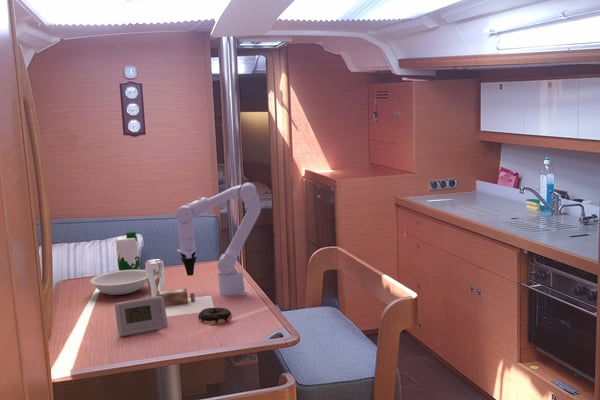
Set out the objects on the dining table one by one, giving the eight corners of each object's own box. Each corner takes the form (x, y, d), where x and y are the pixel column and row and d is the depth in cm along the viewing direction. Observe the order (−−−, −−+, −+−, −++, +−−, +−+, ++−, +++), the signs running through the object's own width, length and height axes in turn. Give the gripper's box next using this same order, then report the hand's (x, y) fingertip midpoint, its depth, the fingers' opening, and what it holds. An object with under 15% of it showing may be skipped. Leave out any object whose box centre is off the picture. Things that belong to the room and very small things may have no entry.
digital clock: (116, 338, 221) (113, 306, 219) (119, 329, 230) (115, 299, 228) (167, 332, 224) (164, 301, 222) (168, 324, 233) (165, 293, 231)
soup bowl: (149, 281, 291) (148, 266, 290) (156, 295, 268) (154, 279, 267) (90, 290, 284) (89, 274, 283) (92, 305, 261) (90, 288, 260)
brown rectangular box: (187, 300, 256) (186, 288, 255) (188, 303, 251) (186, 291, 250) (157, 303, 254) (156, 291, 253) (157, 307, 249) (156, 295, 248)
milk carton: (139, 279, 296) (135, 234, 293) (118, 281, 295) (113, 235, 292) (142, 274, 304) (137, 230, 302) (121, 276, 304) (116, 232, 301)
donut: (204, 329, 225) (203, 317, 224) (194, 320, 235) (193, 308, 235) (236, 322, 229) (235, 311, 229) (225, 313, 240) (224, 302, 239)
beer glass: (162, 302, 259) (158, 263, 257) (145, 302, 260) (141, 263, 258) (169, 296, 266) (166, 258, 263) (152, 296, 267) (149, 259, 265)
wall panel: (211, 298, 260) (210, 287, 259) (215, 313, 240) (214, 302, 240) (152, 305, 256) (151, 294, 255) (151, 321, 236) (150, 310, 236)
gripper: (175, 235, 264) (178, 269, 266) (176, 242, 250) (179, 278, 252) (194, 233, 266) (197, 267, 268) (195, 240, 252) (199, 276, 254)
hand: (189, 272), depth 260 cm, fingers open, 7 cm apart
